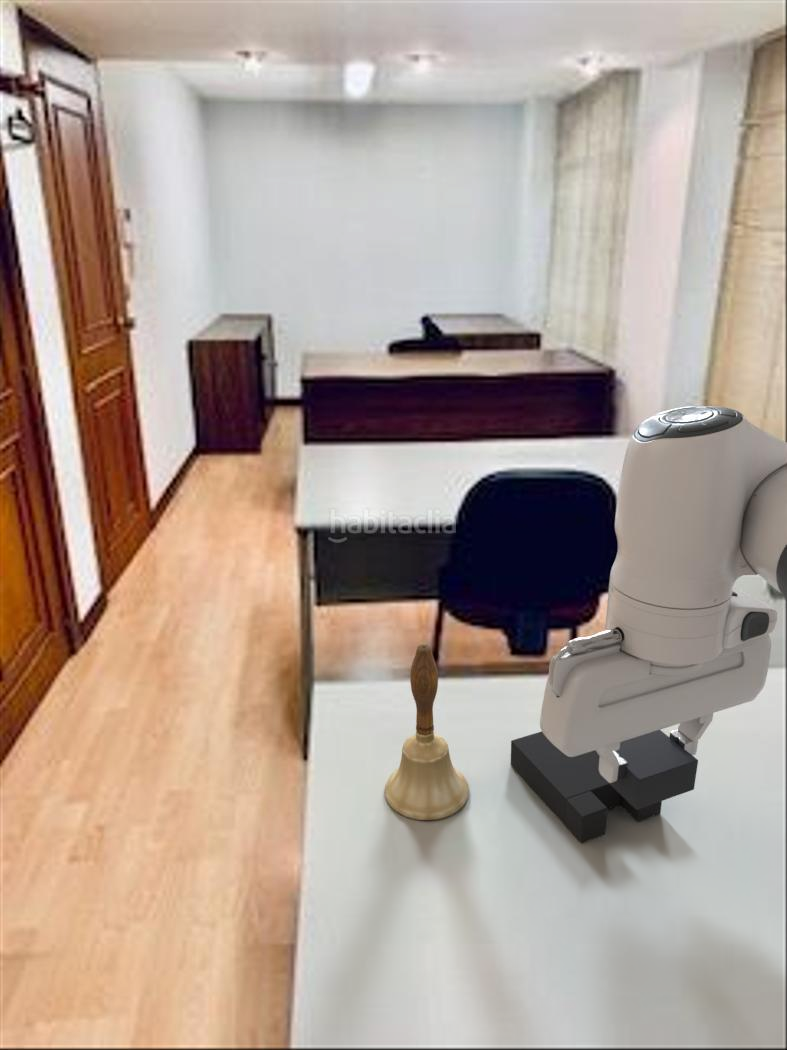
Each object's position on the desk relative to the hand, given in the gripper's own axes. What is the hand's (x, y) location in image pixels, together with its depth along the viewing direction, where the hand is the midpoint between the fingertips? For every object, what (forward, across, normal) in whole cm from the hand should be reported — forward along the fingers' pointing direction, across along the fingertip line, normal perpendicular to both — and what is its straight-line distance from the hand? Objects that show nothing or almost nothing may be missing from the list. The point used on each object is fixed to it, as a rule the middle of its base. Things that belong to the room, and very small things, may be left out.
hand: (647, 764), depth 64 cm
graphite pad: (+2, 0, +1) cm, 2 cm away
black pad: (+9, 0, +9) cm, 12 cm away
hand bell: (+9, -14, +15) cm, 22 cm away
